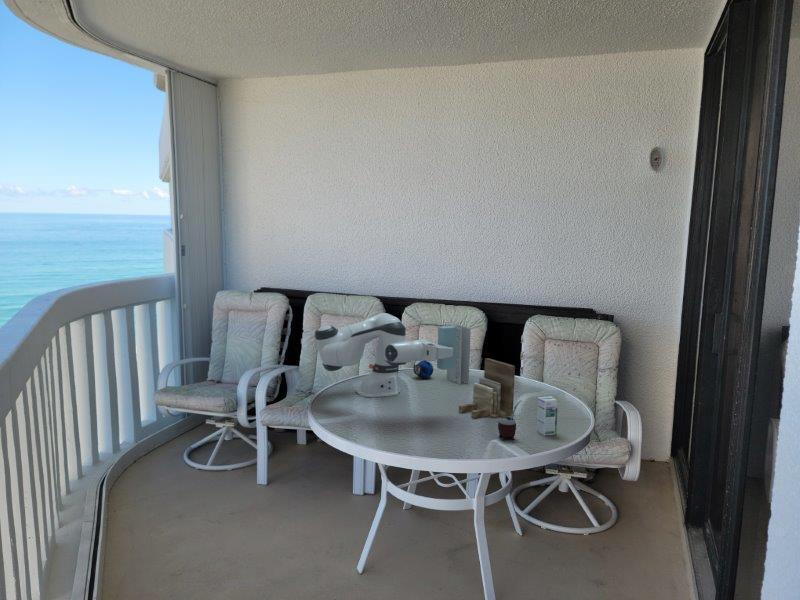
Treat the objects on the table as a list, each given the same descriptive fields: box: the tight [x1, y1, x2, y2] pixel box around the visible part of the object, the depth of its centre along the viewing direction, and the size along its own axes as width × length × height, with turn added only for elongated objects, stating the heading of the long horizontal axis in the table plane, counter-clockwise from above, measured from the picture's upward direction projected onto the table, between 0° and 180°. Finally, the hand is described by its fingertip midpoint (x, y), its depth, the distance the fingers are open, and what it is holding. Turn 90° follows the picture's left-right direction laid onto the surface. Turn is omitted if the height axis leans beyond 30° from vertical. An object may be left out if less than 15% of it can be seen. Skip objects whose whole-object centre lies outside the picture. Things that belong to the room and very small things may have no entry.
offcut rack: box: [458, 357, 516, 419], centre depth 257 cm, size 19×18×22 cm
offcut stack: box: [472, 376, 501, 414], centre depth 259 cm, size 5×13×13 cm, turn 31°
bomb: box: [412, 360, 434, 379], centre depth 318 cm, size 10×11×15 cm
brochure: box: [446, 324, 472, 385], centre depth 312 cm, size 14×6×30 cm, turn 25°
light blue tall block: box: [436, 325, 457, 371], centre depth 250 cm, size 7×4×18 cm, turn 122°
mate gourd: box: [497, 399, 522, 441], centre depth 224 cm, size 8×8×15 cm
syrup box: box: [536, 396, 559, 437], centre depth 231 cm, size 6×6×14 cm
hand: (448, 347), depth 250 cm, fingers closed on light blue tall block, 4 cm apart
